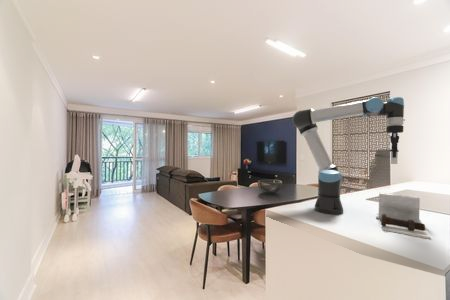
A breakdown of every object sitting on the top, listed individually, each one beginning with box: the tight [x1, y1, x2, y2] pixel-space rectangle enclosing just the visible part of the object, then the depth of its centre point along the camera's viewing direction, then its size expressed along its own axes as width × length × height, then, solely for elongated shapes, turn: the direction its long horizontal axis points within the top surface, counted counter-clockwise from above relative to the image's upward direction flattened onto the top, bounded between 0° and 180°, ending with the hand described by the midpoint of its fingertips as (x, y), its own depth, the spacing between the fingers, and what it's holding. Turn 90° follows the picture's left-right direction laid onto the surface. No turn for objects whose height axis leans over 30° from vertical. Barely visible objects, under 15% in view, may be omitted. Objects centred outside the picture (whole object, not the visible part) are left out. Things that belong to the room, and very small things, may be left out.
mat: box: [381, 224, 432, 240], centre depth 97 cm, size 16×10×1 cm, turn 53°
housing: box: [375, 191, 422, 223], centre depth 113 cm, size 18×10×13 cm, turn 53°
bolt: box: [380, 214, 426, 231], centre depth 98 cm, size 6×5×15 cm
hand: (394, 163), depth 122 cm, fingers open, 13 cm apart
